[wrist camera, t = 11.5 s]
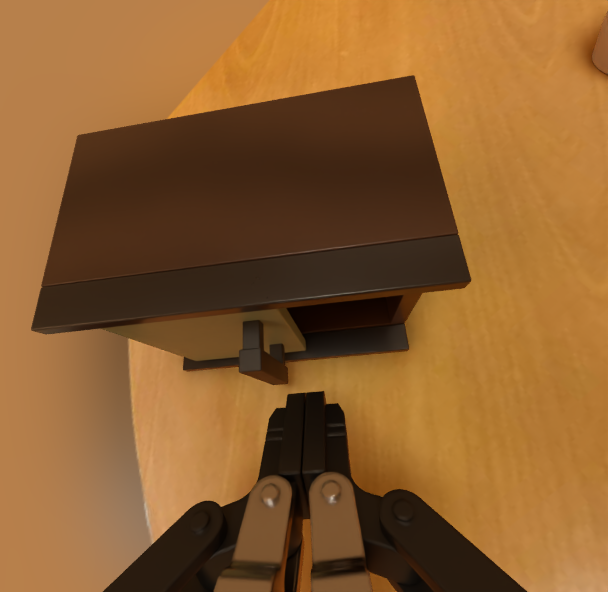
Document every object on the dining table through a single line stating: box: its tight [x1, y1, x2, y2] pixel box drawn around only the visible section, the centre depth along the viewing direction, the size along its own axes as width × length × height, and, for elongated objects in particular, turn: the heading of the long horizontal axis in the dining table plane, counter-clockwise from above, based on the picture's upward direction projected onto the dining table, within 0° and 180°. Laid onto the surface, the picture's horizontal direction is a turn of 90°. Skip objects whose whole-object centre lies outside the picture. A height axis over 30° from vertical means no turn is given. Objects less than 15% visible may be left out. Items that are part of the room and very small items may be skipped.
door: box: [100, 308, 306, 385], centre depth 17 cm, size 3×8×10 cm, turn 94°
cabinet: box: [31, 75, 471, 371], centre depth 19 cm, size 10×16×12 cm, turn 94°
